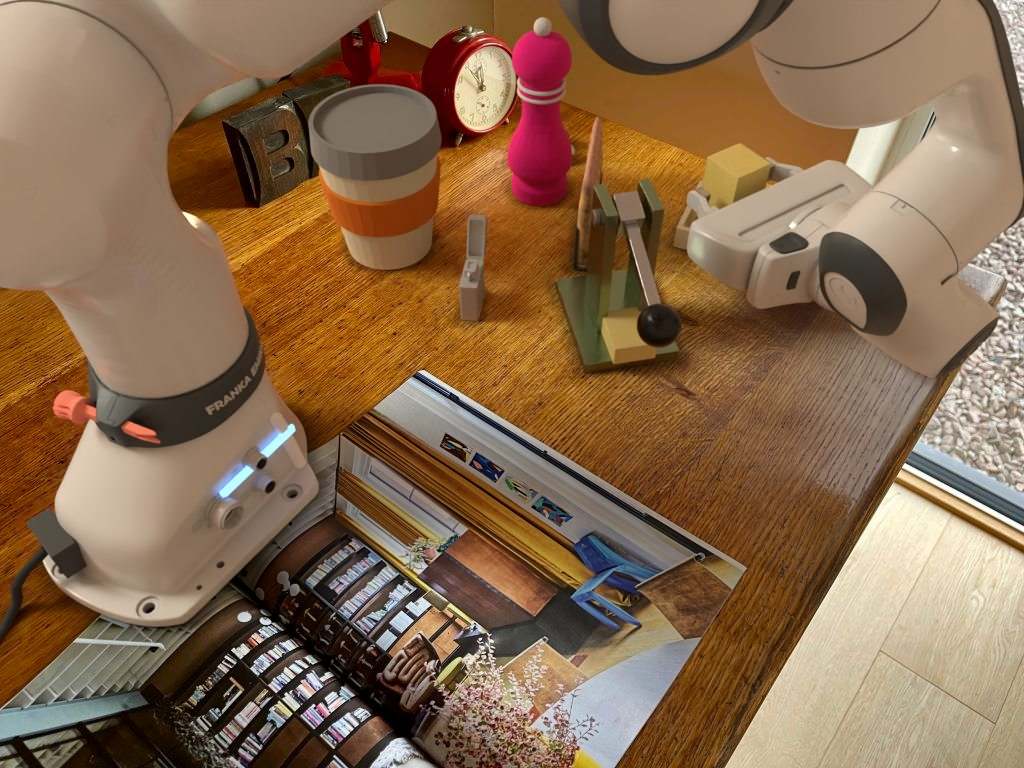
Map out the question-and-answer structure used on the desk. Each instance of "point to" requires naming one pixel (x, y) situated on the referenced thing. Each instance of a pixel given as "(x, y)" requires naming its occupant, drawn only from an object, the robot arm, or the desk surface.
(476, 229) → the lighter
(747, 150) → the butter
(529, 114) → the pepper mill
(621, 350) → the butter slab
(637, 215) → the lever
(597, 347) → the slicer
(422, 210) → the reusable coffee cup
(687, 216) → the butter dish
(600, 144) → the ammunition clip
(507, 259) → the desk surface
